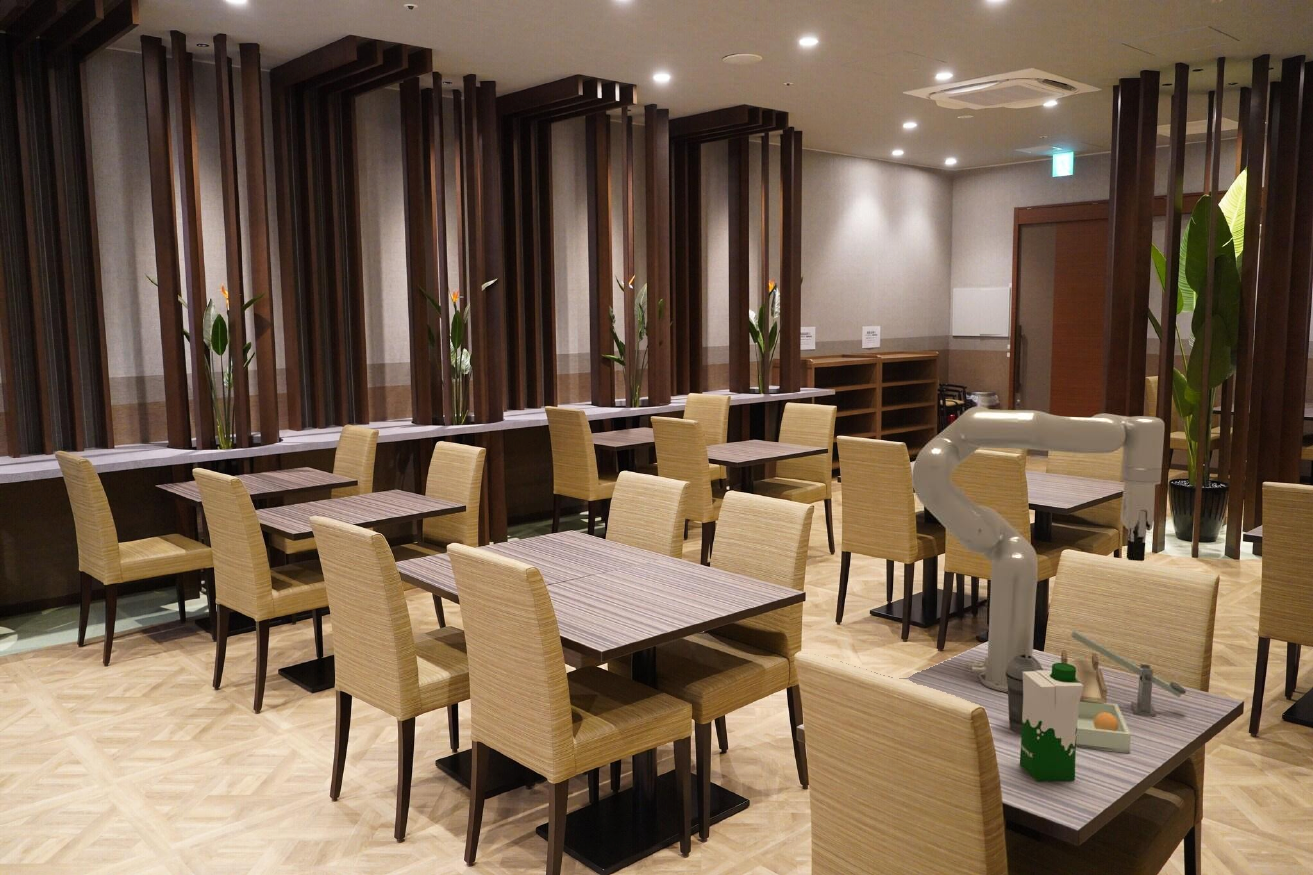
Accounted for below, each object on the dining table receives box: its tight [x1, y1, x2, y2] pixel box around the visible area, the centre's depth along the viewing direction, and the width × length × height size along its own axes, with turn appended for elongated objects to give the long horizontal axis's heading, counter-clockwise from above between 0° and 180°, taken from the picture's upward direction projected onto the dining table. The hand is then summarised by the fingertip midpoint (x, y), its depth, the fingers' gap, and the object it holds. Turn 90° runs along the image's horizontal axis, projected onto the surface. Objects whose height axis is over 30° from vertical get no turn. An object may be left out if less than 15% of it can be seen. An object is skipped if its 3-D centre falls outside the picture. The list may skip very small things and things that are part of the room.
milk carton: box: [1019, 662, 1083, 783], centre depth 178 cm, size 9×9×20 cm
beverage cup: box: [1006, 636, 1044, 736], centre depth 196 cm, size 7×7×20 cm
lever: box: [1070, 630, 1187, 698], centre depth 208 cm, size 25×3×2 cm, turn 74°
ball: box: [1094, 712, 1118, 731], centre depth 194 cm, size 4×4×4 cm
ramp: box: [1060, 650, 1108, 703], centre depth 209 cm, size 7×16×10 cm, turn 164°
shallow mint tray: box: [1076, 700, 1132, 754], centre depth 196 cm, size 12×15×4 cm
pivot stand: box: [1130, 663, 1157, 718], centre depth 207 cm, size 4×5×10 cm
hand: (1135, 559), depth 210 cm, fingers closed
